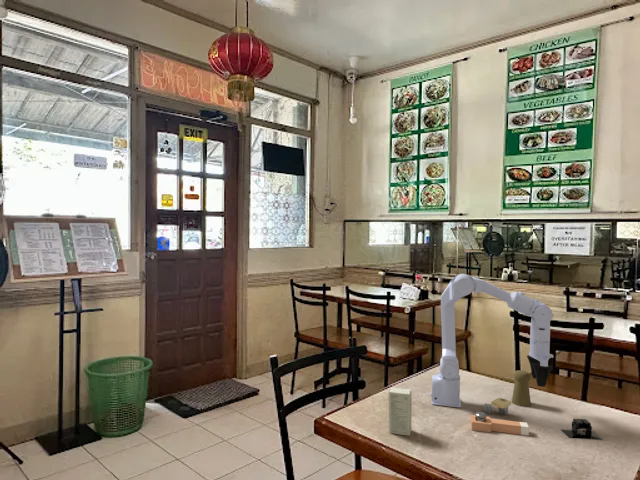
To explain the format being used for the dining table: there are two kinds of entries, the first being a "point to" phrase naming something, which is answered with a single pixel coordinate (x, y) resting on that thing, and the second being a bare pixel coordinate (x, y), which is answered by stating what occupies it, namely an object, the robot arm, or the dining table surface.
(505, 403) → the stand
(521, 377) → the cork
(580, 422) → the black piece
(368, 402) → the dining table surface
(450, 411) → the dining table surface
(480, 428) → the link
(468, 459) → the dining table surface
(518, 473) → the dining table surface
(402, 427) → the skincare box
